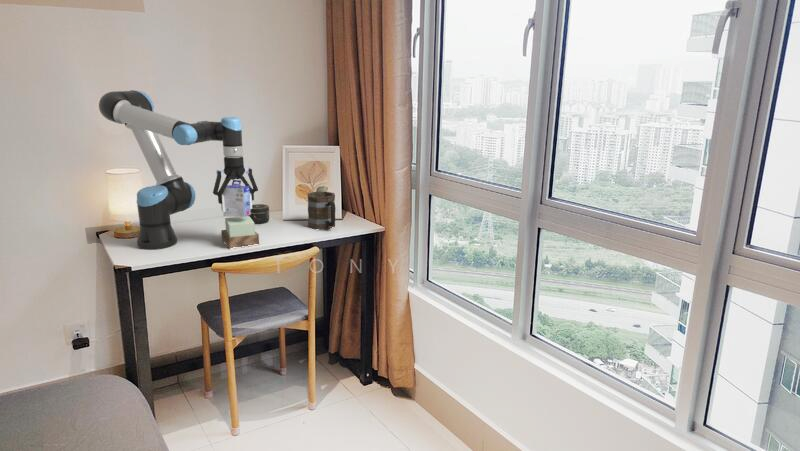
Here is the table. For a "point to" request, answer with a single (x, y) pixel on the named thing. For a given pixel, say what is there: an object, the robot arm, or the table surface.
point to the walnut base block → (239, 240)
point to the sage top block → (240, 226)
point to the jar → (260, 213)
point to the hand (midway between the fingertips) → (237, 209)
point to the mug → (321, 210)
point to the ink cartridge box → (237, 200)
